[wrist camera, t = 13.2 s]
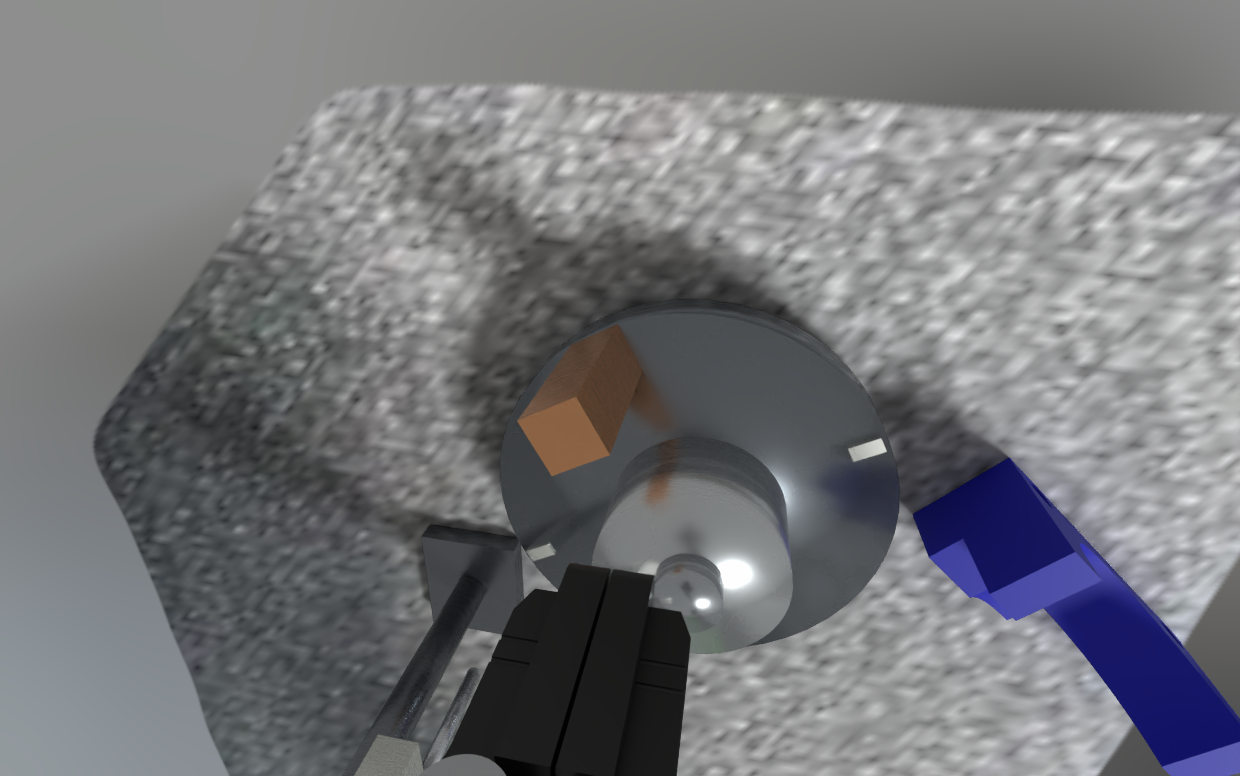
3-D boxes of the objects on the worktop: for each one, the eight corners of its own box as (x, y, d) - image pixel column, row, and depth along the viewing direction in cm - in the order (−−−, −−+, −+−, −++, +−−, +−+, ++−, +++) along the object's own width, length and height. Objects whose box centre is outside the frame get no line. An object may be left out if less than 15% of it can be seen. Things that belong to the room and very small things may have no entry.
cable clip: (911, 511, 27) (950, 613, 22) (1007, 455, 25) (1075, 552, 20) (1072, 672, 29) (1143, 801, 24) (1173, 632, 27) (1273, 762, 22)
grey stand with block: (525, 623, 35) (368, 992, 20) (441, 608, 35) (234, 954, 21) (520, 538, 32) (336, 894, 18) (430, 524, 33) (186, 855, 19)
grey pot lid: (941, 568, 26) (1010, 742, 19) (617, 644, 32) (579, 801, 25) (801, 226, 22) (826, 293, 15) (449, 388, 27) (344, 492, 20)
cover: (814, 553, 25) (828, 658, 20) (660, 595, 27) (642, 696, 23) (742, 411, 23) (740, 492, 18) (583, 470, 25) (546, 555, 21)
